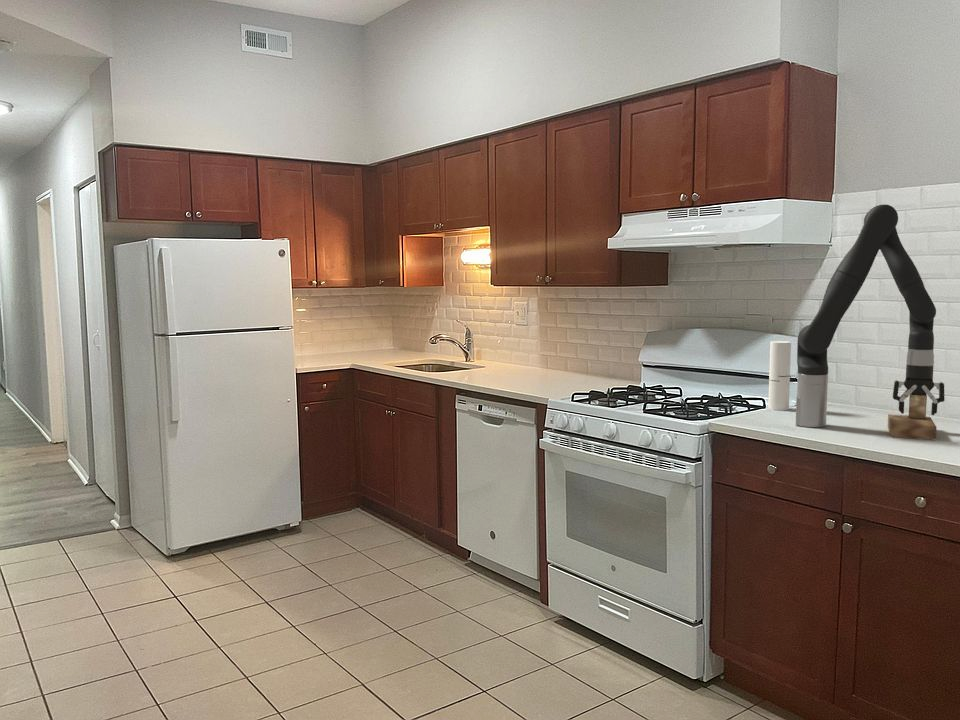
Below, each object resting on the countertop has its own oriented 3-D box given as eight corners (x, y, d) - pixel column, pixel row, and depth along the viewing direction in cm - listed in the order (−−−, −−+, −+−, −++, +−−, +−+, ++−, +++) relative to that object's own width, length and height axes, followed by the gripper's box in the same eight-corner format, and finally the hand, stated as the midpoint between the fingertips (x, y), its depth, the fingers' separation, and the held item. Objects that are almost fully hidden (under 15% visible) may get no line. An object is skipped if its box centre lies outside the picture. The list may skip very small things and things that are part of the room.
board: (890, 436, 241) (891, 423, 241) (887, 426, 257) (888, 414, 257) (935, 439, 236) (936, 426, 236) (929, 429, 252) (930, 416, 252)
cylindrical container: (790, 410, 288) (792, 342, 286) (769, 410, 290) (772, 342, 287) (786, 407, 295) (789, 341, 293) (766, 406, 297) (769, 341, 294)
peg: (908, 429, 249) (910, 395, 248) (906, 426, 254) (908, 393, 252) (926, 430, 247) (928, 396, 246) (924, 428, 252) (926, 394, 250)
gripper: (944, 363, 249) (941, 413, 250) (893, 361, 254) (891, 410, 256) (947, 365, 242) (944, 417, 244) (895, 363, 248) (892, 414, 249)
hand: (917, 414), depth 250 cm, fingers open, 8 cm apart
